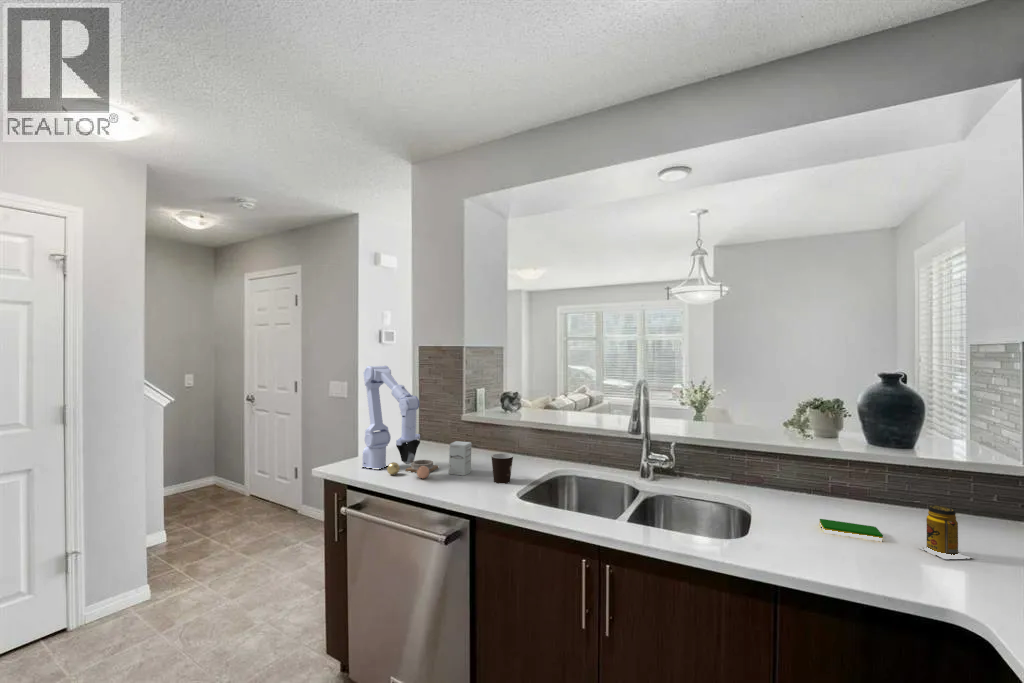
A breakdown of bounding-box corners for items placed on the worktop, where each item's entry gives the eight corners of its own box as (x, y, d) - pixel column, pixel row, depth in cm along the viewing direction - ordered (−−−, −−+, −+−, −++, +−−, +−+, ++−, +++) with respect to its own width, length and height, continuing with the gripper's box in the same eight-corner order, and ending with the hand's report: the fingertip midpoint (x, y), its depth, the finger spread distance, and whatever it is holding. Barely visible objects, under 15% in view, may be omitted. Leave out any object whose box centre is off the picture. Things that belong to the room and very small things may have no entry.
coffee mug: (503, 485, 173) (504, 459, 174) (486, 481, 179) (486, 456, 179) (521, 479, 183) (521, 454, 183) (504, 475, 188) (505, 451, 188)
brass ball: (384, 475, 185) (384, 463, 185) (391, 472, 190) (391, 460, 190) (394, 476, 183) (395, 464, 183) (401, 473, 188) (402, 461, 188)
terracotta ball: (414, 479, 180) (414, 466, 180) (420, 476, 185) (421, 463, 185) (425, 480, 179) (425, 468, 179) (431, 477, 183) (431, 465, 183)
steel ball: (399, 464, 183) (399, 452, 183) (406, 462, 188) (406, 449, 188) (409, 466, 181) (410, 453, 181) (416, 463, 186) (417, 450, 186)
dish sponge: (819, 526, 139) (819, 518, 139) (875, 534, 133) (875, 526, 133) (823, 534, 132) (823, 526, 132) (883, 544, 126) (883, 535, 126)
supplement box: (448, 474, 188) (448, 443, 188) (455, 470, 195) (456, 440, 196) (464, 476, 186) (465, 445, 186) (471, 471, 193) (472, 441, 193)
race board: (405, 471, 192) (405, 463, 192) (418, 465, 201) (418, 458, 201) (426, 474, 188) (426, 466, 188) (438, 468, 198) (438, 460, 198)
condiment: (917, 548, 123) (917, 503, 123) (945, 547, 123) (945, 503, 124) (945, 561, 115) (945, 513, 116) (975, 560, 116) (975, 512, 116)
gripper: (407, 429, 176) (406, 464, 176) (426, 424, 190) (426, 456, 190) (391, 428, 179) (391, 463, 179) (412, 423, 192) (411, 455, 192)
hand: (408, 459), depth 184 cm, fingers closed on steel ball, 5 cm apart
